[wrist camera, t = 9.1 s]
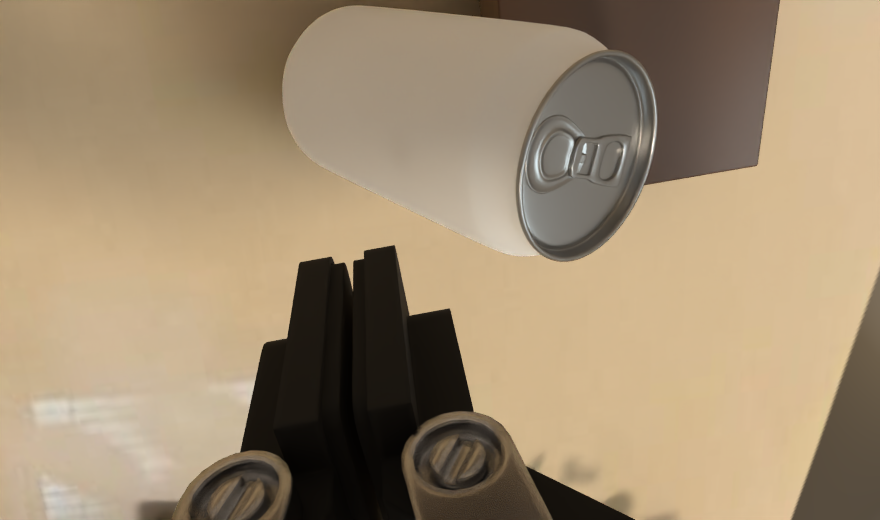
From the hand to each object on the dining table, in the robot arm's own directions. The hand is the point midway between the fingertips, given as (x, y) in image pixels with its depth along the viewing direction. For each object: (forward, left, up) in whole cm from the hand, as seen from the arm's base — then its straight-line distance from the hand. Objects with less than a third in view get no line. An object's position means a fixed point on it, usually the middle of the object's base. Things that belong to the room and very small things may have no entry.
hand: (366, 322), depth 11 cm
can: (0, -1, -16) cm, 16 cm away
